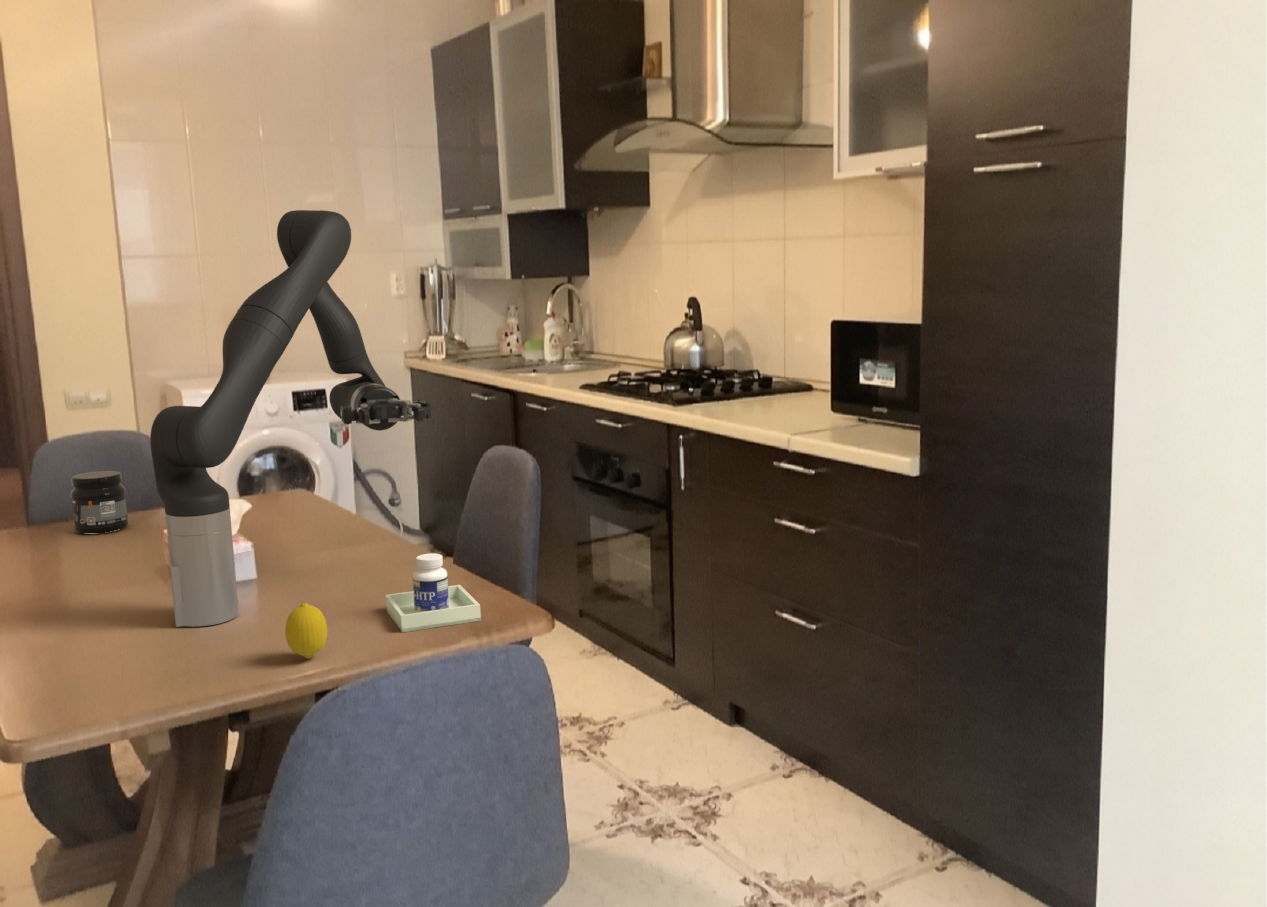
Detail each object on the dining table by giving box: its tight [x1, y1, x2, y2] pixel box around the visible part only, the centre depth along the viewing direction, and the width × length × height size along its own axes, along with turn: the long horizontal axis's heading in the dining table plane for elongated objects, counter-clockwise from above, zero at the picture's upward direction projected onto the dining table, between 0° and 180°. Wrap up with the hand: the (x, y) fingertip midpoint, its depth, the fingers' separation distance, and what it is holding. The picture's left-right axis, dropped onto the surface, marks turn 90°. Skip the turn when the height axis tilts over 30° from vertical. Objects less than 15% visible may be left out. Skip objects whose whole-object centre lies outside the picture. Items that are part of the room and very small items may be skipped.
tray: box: [384, 584, 482, 633], centre depth 165 cm, size 12×12×2 cm
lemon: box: [284, 602, 328, 660], centre depth 146 cm, size 6×6×8 cm
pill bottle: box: [412, 552, 449, 613], centre depth 164 cm, size 5×5×9 cm
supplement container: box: [69, 470, 129, 534], centre depth 226 cm, size 10×10×12 cm
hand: (394, 416), depth 169 cm, fingers open, 8 cm apart
